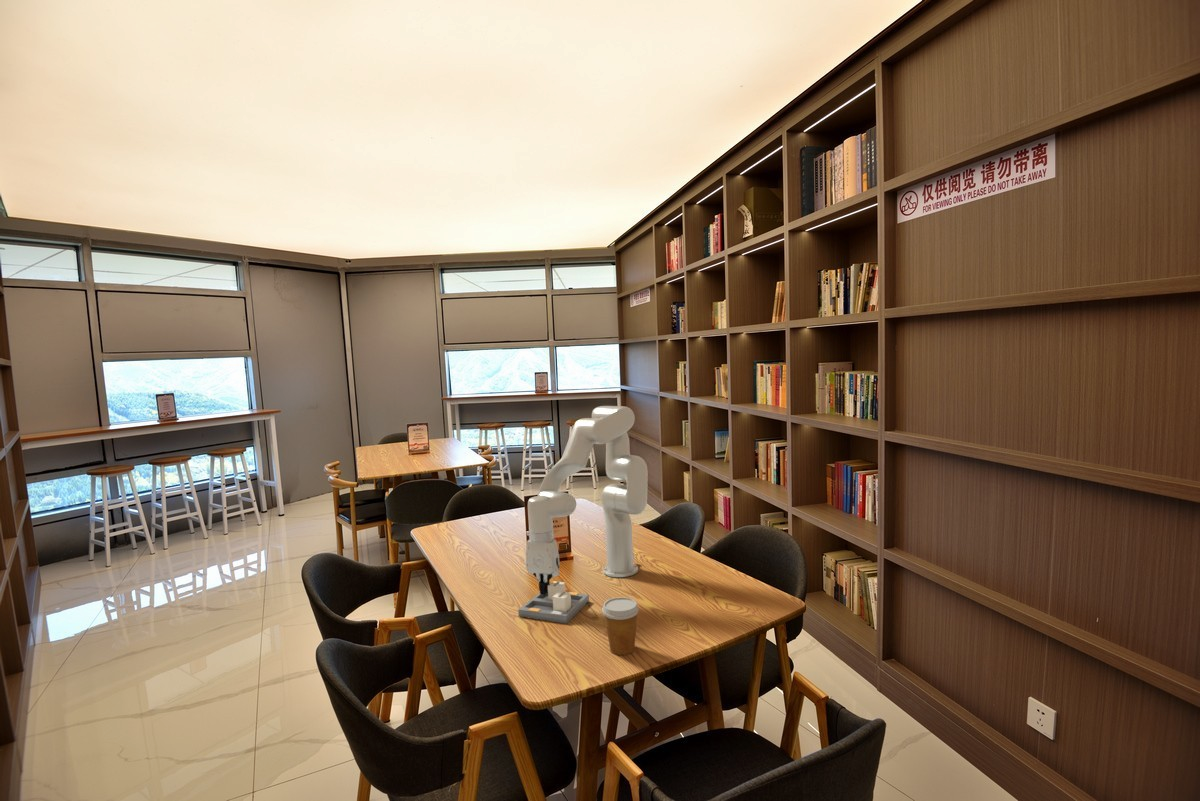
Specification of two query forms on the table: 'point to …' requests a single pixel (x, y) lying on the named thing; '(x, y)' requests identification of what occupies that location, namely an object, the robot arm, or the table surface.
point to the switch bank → (544, 608)
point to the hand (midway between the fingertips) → (544, 592)
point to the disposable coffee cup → (621, 624)
